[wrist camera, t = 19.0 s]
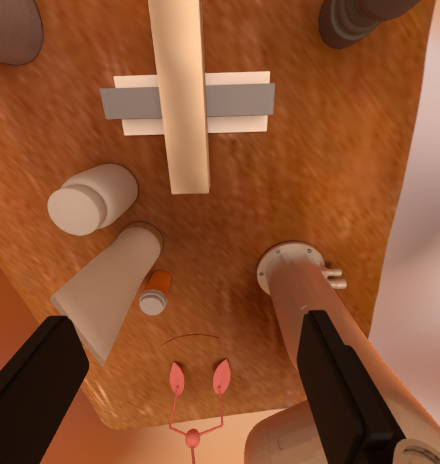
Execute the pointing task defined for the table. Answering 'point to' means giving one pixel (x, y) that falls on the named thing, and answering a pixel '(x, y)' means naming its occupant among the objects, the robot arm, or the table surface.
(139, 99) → the ridge stand
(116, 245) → the toiletry set
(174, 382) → the figurine
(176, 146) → the birch bar
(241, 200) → the table surface
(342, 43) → the candle holder
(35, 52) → the pillar candle
